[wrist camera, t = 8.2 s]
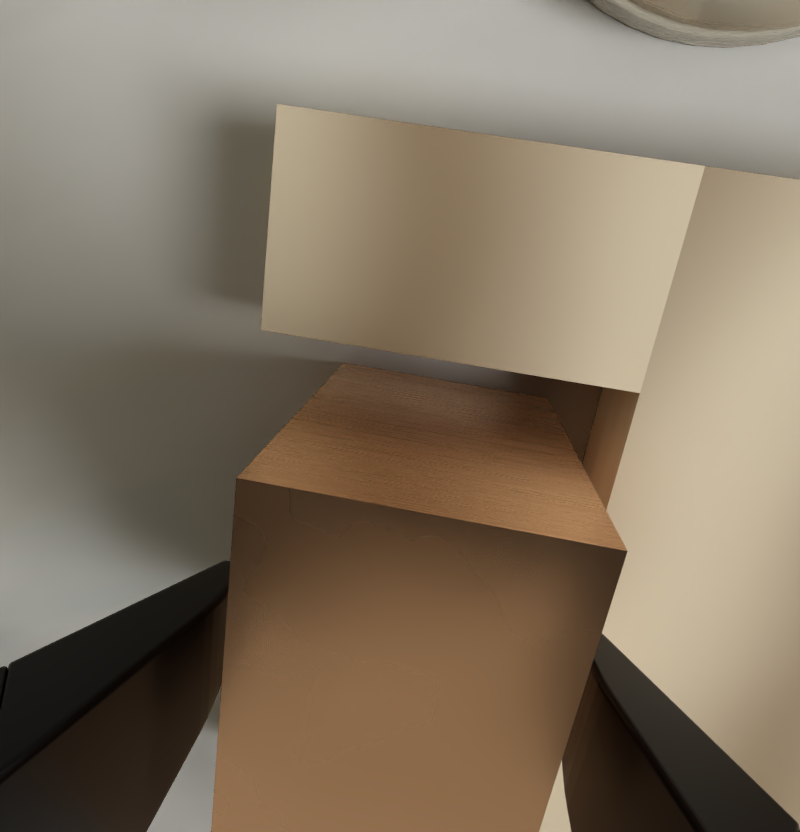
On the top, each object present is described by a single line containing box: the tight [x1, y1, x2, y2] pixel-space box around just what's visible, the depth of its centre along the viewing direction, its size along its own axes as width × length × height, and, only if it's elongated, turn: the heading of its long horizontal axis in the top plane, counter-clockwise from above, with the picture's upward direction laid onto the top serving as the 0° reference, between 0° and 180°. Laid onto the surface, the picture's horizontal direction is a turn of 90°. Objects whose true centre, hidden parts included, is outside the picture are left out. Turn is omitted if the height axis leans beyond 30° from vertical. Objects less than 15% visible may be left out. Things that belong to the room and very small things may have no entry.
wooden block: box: [211, 363, 628, 832], centre depth 10 cm, size 4×6×6 cm, turn 171°
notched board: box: [261, 104, 800, 832], centre depth 11 cm, size 16×14×2 cm
